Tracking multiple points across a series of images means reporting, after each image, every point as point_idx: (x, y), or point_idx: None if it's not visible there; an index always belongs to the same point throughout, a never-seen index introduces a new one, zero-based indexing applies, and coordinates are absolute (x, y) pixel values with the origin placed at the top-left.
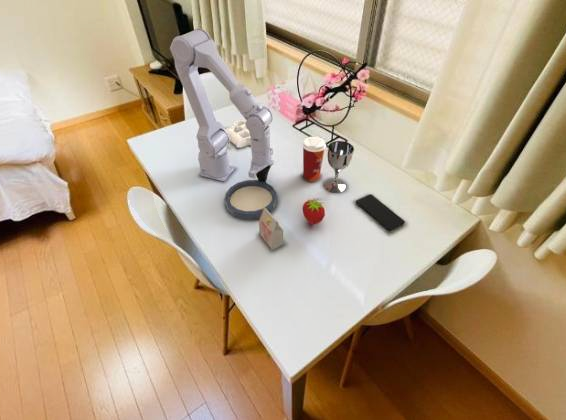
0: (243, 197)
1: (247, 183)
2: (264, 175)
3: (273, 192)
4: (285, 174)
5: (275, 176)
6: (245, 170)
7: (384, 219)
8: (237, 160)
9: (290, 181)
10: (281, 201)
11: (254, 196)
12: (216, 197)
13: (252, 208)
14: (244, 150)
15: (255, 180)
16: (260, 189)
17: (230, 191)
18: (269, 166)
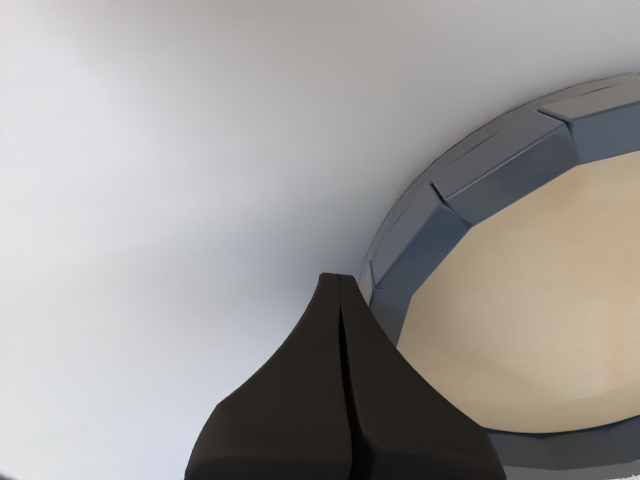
0: (550, 371)
1: None
2: (420, 383)
3: (573, 158)
4: (73, 110)
5: (162, 205)
6: (200, 411)
7: None
8: (127, 463)
9: (164, 6)
10: (574, 21)
11: (540, 308)
12: None
13: None
14: (6, 457)
15: None
16: (436, 288)
17: (535, 470)
18: (335, 469)
